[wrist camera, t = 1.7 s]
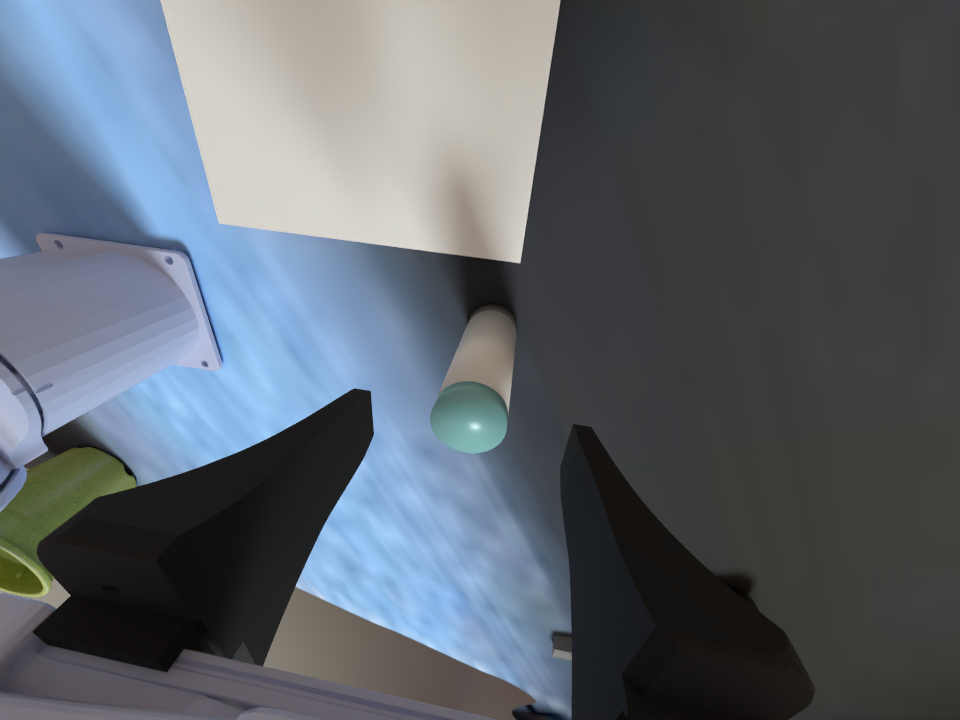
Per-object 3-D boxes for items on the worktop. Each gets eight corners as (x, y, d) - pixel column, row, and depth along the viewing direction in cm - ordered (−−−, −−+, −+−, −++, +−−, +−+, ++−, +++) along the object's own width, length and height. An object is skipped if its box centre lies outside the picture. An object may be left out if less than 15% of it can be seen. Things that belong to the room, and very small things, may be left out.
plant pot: (150, 517, 36) (48, 611, 28) (54, 471, 34) (-82, 559, 26) (162, 467, 31) (44, 563, 24) (52, 412, 30) (-112, 497, 22)
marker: (466, 344, 21) (429, 446, 14) (470, 300, 20) (431, 386, 12) (513, 351, 21) (501, 458, 13) (520, 307, 19) (512, 399, 12)
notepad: (230, 221, 19) (217, 223, 18) (147, -116, 13) (123, -134, 12) (520, 259, 18) (520, 263, 17) (574, -90, 12) (576, -107, 11)
